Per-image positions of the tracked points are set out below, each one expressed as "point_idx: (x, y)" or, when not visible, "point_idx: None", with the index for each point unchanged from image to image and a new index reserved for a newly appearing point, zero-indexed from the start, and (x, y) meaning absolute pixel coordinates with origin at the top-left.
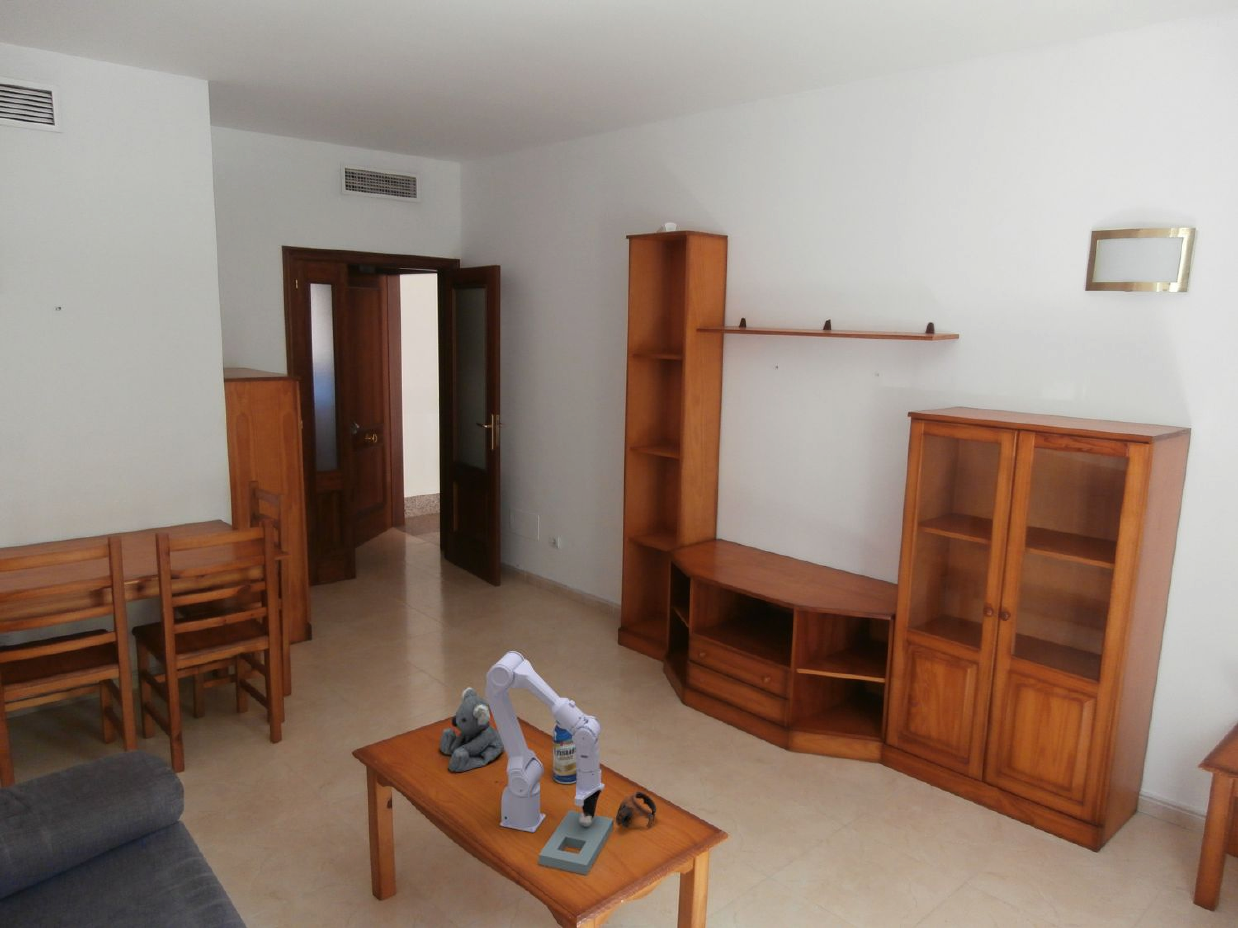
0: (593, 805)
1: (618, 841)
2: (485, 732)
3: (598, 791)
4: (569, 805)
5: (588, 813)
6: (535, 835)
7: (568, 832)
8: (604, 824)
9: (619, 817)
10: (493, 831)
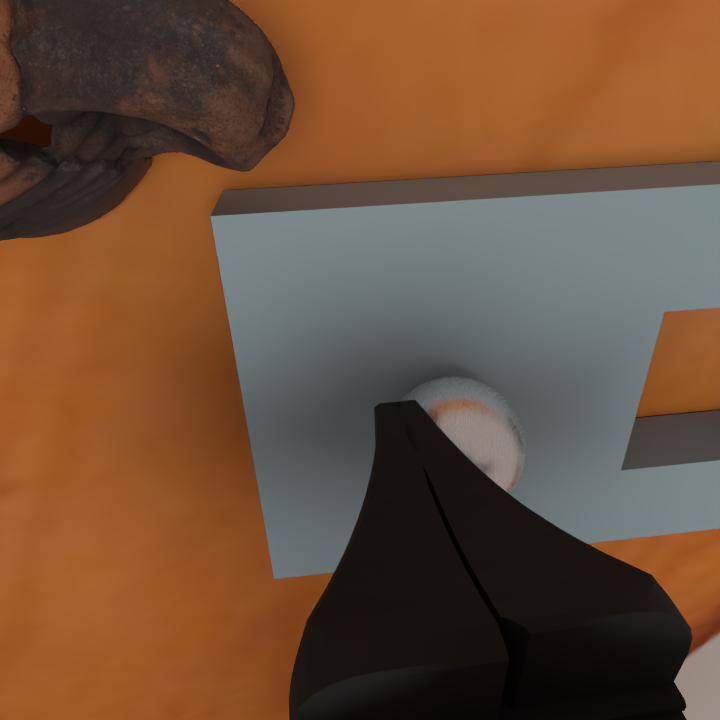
0: (531, 511)
1: (420, 50)
2: None
3: (465, 678)
4: (130, 578)
5: None
6: None
7: (562, 473)
8: (354, 266)
9: (285, 115)
10: None
